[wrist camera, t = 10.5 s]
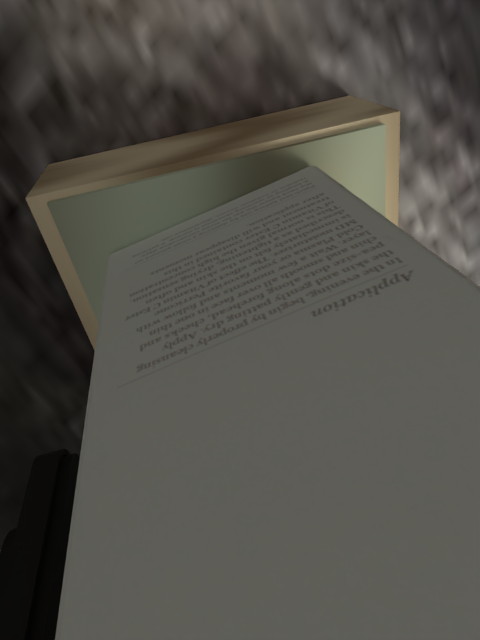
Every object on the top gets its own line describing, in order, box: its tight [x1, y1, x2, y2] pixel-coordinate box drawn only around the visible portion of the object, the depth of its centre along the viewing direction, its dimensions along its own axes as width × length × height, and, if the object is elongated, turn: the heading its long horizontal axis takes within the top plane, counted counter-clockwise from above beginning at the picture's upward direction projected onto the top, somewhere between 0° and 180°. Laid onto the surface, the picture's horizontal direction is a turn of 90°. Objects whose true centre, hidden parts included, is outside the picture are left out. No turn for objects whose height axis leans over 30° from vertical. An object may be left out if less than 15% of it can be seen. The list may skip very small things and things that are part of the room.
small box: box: [55, 166, 480, 640], centre depth 9 cm, size 8×6×13 cm
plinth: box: [25, 95, 400, 351], centre depth 16 cm, size 10×10×4 cm
